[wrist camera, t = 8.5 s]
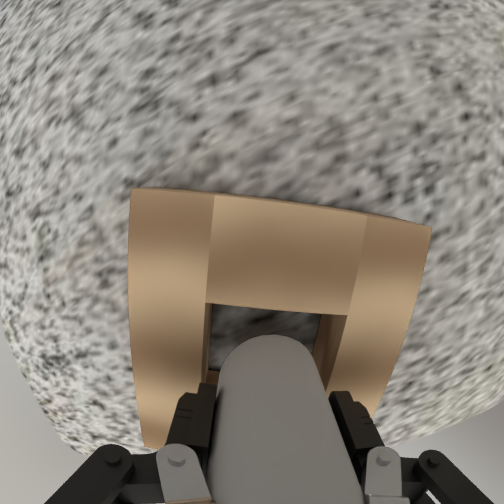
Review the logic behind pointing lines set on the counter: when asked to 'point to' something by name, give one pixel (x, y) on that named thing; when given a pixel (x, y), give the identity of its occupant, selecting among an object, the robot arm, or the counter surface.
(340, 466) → the beverage can
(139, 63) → the counter surface
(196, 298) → the socket
